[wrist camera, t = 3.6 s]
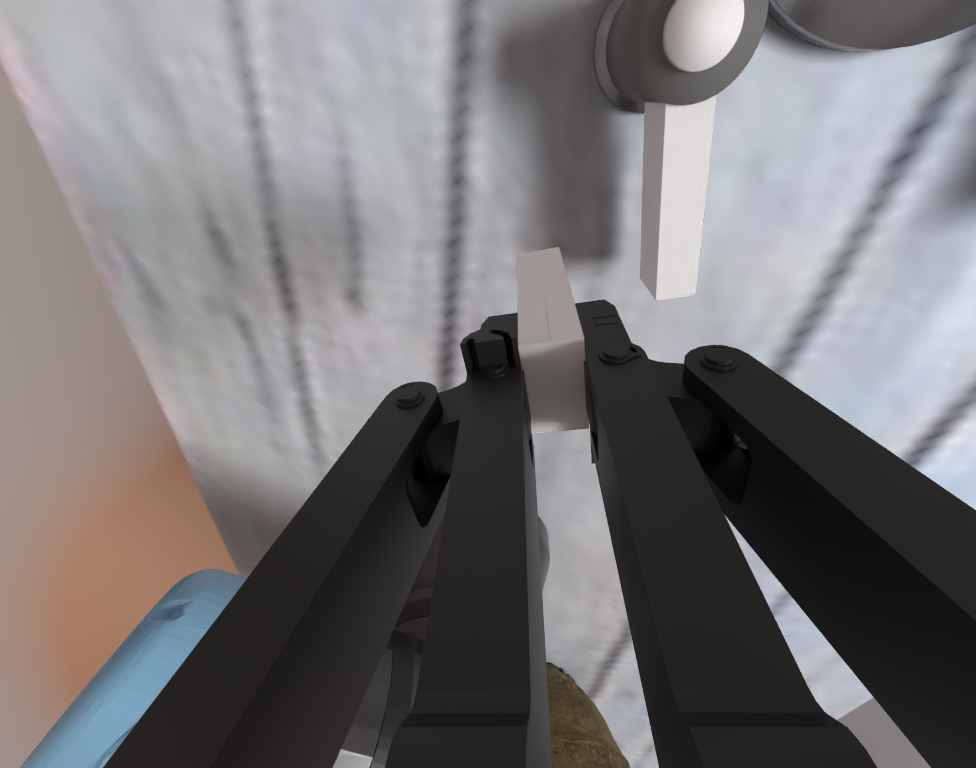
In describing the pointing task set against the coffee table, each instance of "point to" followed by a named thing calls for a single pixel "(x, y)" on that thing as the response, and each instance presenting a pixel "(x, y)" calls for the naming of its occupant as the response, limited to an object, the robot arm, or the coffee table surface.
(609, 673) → the coffee table surface
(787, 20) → the base
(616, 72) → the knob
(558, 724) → the clay pot
